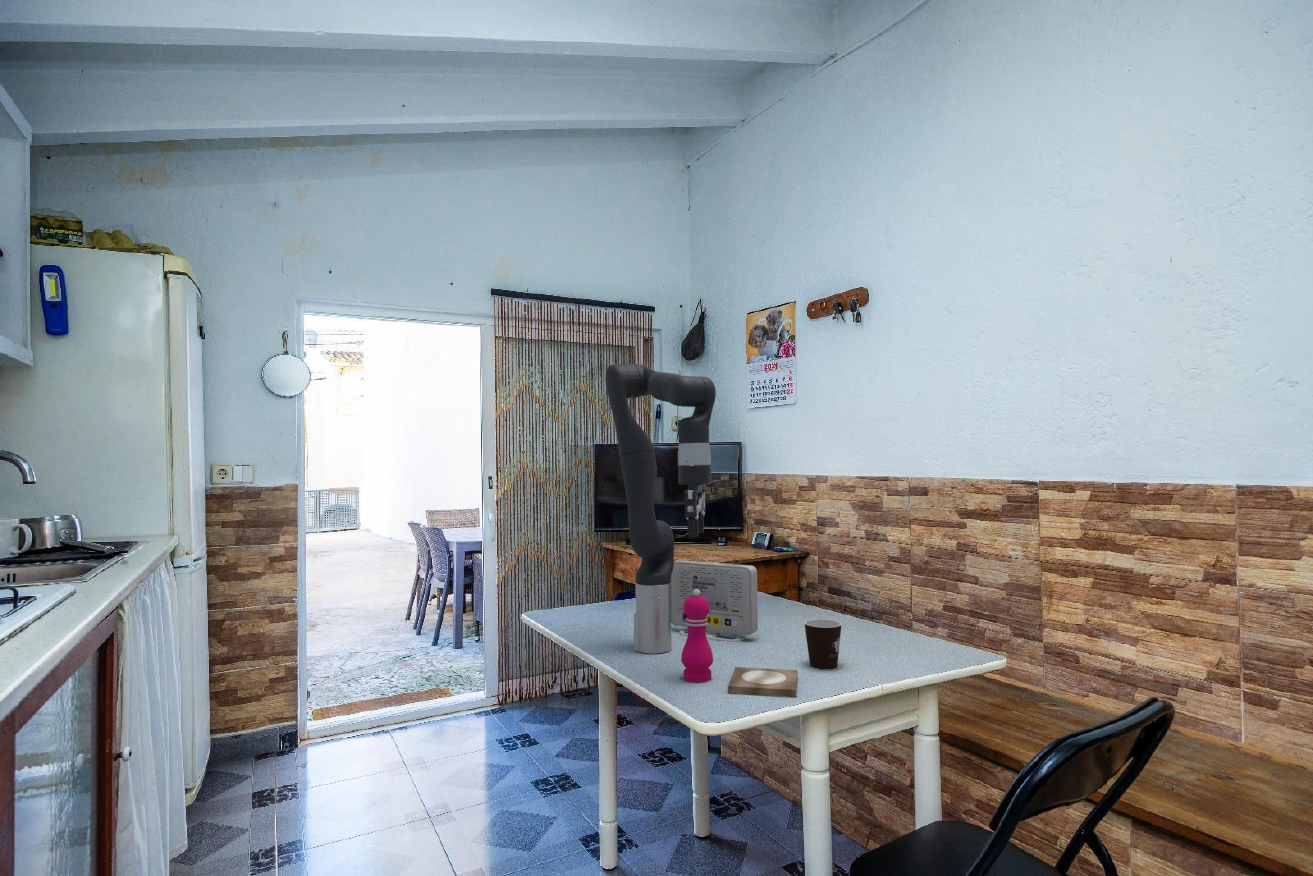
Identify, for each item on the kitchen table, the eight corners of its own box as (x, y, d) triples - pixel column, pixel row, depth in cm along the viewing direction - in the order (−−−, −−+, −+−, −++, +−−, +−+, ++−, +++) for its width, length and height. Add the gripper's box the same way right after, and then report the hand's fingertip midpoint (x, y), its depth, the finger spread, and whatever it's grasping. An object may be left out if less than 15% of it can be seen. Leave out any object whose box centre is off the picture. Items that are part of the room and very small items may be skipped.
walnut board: (728, 693, 151) (728, 685, 151) (735, 673, 164) (735, 666, 164) (795, 697, 148) (795, 689, 148) (797, 677, 161) (797, 669, 161)
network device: (761, 638, 197) (760, 565, 197) (747, 645, 189) (746, 569, 190) (681, 627, 210) (680, 558, 211) (665, 633, 203) (664, 562, 204)
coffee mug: (821, 673, 164) (820, 629, 164) (797, 663, 172) (796, 621, 172) (859, 665, 169) (859, 623, 170) (835, 657, 177) (834, 616, 177)
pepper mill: (703, 685, 156) (702, 593, 157) (675, 680, 160) (674, 590, 161) (719, 676, 162) (717, 587, 163) (691, 671, 166) (690, 585, 167)
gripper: (683, 463, 171) (685, 531, 170) (672, 464, 157) (673, 538, 156) (714, 463, 169) (716, 531, 169) (706, 463, 155) (708, 538, 155)
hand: (696, 534), depth 163 cm, fingers open, 8 cm apart
